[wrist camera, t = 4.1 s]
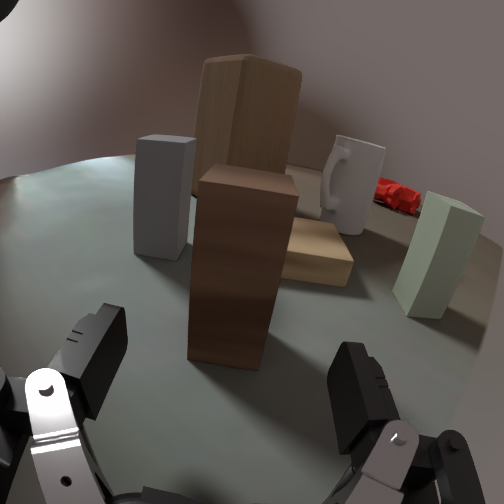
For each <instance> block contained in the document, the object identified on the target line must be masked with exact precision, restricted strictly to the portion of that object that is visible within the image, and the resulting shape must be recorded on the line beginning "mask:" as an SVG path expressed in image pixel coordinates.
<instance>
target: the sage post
mask: <svg viewBox="0 0 504 504" xmlns="http://www.w3.org/2000/svg"><path fill="white" fill-rule="evenodd" d="M484 218H485V217H484V216H482V215H481V214H479V213H478V212H476V211H475V210H473V209H471V208H470V207H468V206H467V205H465V204H464V203H462V202H460V201H457V200H454V199H451V198H448V197H445V196H442V195H439V194H436V193H433V192H430V191H427V194H426V198H425V201H424V205H423V207H422V211H421V214H420V217H419V220H418V223H417V226H416V229H415V232H414V235H413V238H412V241H411V244H410V246H409V249H408V252H407V255H406V257H405V260H404V263H403V265H402V268H401V270H400V273H399V275H398V278H397V280H396V283H395V285H394V288H393V290H392V292H393V293H394V295H395V297H396V299H397V300H398V302H399V304H400V306H401V307H402V309H403V311H404V313H405V314H406V316H408V317H419V318H431V319H441V318H442V316H443V314H444V312H445V310H446V308H447V306H448V304H449V302H450V300H451V298H452V296H453V294H454V292H455V290H456V288H457V286H458V284H459V281H460V279H461V277H462V275H463V272H464V270H465V268H466V266H467V263H468V261H469V258H470V256H471V254H472V251H473V249H474V246H475V243H476V241H477V238H478V235H479V233H480V230H481V227H482V224H483V221H484Z"/></svg>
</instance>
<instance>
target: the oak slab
mask: <svg viewBox="0 0 504 504" xmlns="http://www.w3.org/2000/svg"><path fill="white" fill-rule="evenodd" d="M353 264H354V260H353V258H352V256H351V255H350V253H349V251H348V249H347V247H346V245H345V243H344V242H343V240H342V238H341V236H340V234H339V233H338V231H337V229H336V227H335V225H334V224H332V223H327V222H321V221H316V220H310V219H305V218H299V217H294V222H293V226H292V231H291V235H290V240H289V244H288V249H287V253H286V257H285V262H284V266H283V271H282V275H281V278H285V279H292V280H298V281H305V282H312V283H319V284H326V285H333V286H340V287H346V284H347V281H348V279H349V276H350V273H351V270H352V267H353Z"/></svg>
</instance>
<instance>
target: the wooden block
mask: <svg viewBox="0 0 504 504" xmlns="http://www.w3.org/2000/svg"><path fill="white" fill-rule="evenodd" d="M301 81H302V73H301V72H300V71H299V70H298V69H296V68H293V67H290V66H287V65H284V64H281V63H278V62H275V61H272V60H269V59H265V58H262V57H259V56H255V55H252V54H244V55H232V56H223V57H213V58H209V59H207V60H206V61H205V63H204V66H203V72H202V79H201V85H200V91H199V98H198V105H197V112H196V120H195V128H194V135H193V138H197V143H196V151H195V160H194V169H193V179H192V189H191V193H192V194H193V195H195V196H197V195H198V185H199V180H200V179H201V178H202V177H203V176H204V175H205V174H206V172H207V171H208V170H209V169H210V168H211V167H212V166H213V165H214V164H222V165H229V166H236V167H243V168H249V169H256V170H262V171H268V172H274V173H279V174H285V169H286V164H287V158H288V153H289V148H290V142H291V137H292V131H293V126H294V120H295V115H296V109H297V104H298V98H299V92H300V87H301Z"/></svg>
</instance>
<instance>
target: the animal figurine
mask: <svg viewBox="0 0 504 504" xmlns="http://www.w3.org/2000/svg"><path fill="white" fill-rule="evenodd" d="M420 195H421V194H420V193H419V192H417V191H415V190H412V189H410V188H408V187H405V186H402V185H400V184H398V183H396V182H395V181H391V180H388V179H384V178H380V177H379V180H378V184H377V187H376V191H375V194H374V197H373V198H376V199H381V200H382V201H383V202H384V203H385V204H386V205H387V206H388V207H390V208H392V209H395V208H398V209H399V210H402V211H405V212H408V213H411V214H415V212H416V209H418V207H419V205H420V201H421V198H420Z"/></svg>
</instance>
